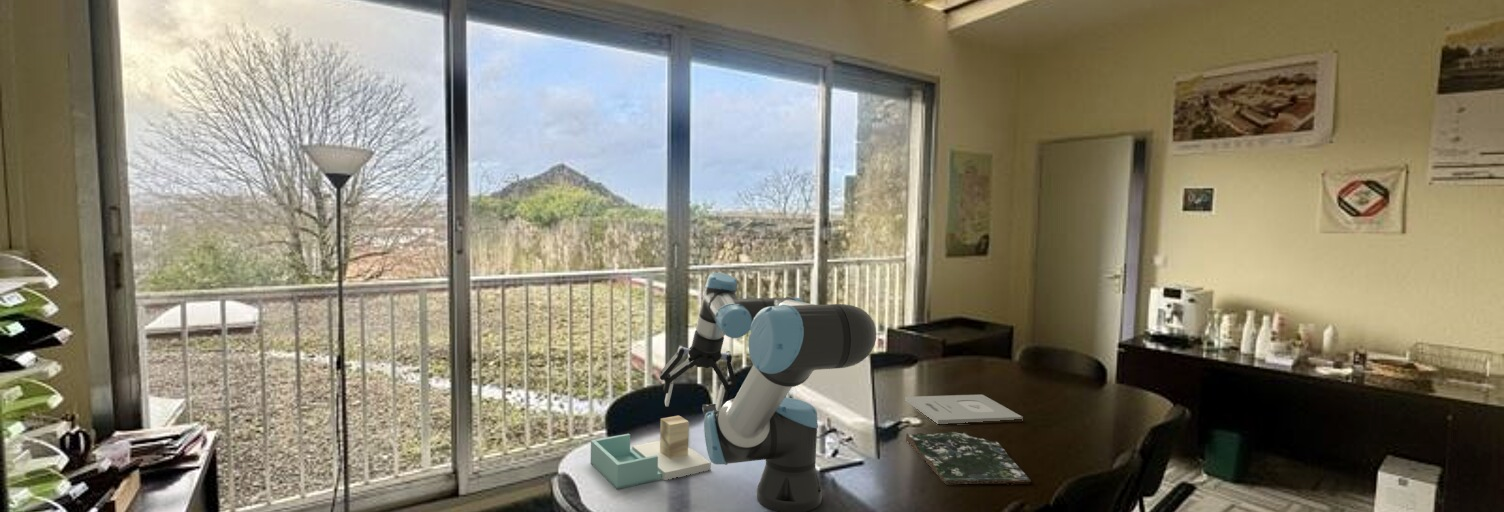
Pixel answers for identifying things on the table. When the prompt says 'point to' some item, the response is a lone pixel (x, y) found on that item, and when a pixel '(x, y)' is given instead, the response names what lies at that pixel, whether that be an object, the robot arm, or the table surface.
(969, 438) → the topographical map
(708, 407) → the disk drive
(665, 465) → the cream board
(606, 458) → the box
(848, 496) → the table surface
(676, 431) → the maple block
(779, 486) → the robot arm
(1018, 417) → the award plaque
